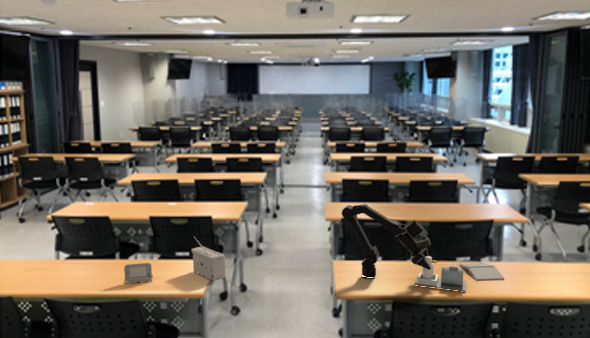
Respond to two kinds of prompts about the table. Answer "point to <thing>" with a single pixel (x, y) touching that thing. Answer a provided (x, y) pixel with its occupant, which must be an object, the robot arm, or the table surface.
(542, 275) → the table surface
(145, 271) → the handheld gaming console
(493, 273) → the gadget
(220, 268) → the stereo radio cassette player
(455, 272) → the tray with square frame
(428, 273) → the white rounded upright piece
